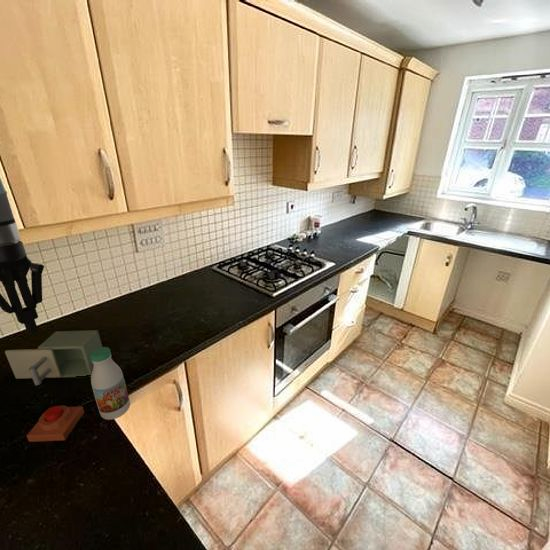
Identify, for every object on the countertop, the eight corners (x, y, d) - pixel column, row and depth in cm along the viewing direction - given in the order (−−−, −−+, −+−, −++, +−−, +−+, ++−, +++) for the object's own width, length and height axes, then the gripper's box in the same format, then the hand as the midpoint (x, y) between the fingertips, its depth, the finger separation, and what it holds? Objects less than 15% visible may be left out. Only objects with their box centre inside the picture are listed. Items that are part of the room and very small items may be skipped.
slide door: (-1, 393, 91) (-13, 364, 87) (17, 377, 97) (6, 350, 93) (47, 391, 91) (36, 363, 87) (61, 375, 98) (52, 348, 94)
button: (42, 422, 77) (40, 417, 77) (51, 411, 81) (49, 406, 80) (57, 421, 78) (55, 416, 77) (65, 410, 81) (63, 405, 80)
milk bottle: (94, 416, 84) (75, 356, 76) (116, 396, 90) (101, 340, 83) (114, 424, 81) (97, 363, 73) (136, 403, 88) (122, 346, 80)
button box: (28, 441, 76) (23, 430, 75) (51, 413, 85) (47, 402, 83) (65, 440, 77) (60, 428, 75) (84, 412, 85) (80, 401, 83)
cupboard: (48, 378, 98) (37, 347, 94) (65, 360, 106) (55, 331, 102) (92, 376, 99) (83, 345, 94) (105, 359, 107) (97, 330, 102)
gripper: (25, 234, 75) (52, 317, 84) (-45, 248, 65) (-6, 340, 73) (41, 238, 72) (67, 323, 81) (-30, 253, 61) (9, 349, 70)
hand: (32, 331), depth 77 cm, fingers closed
